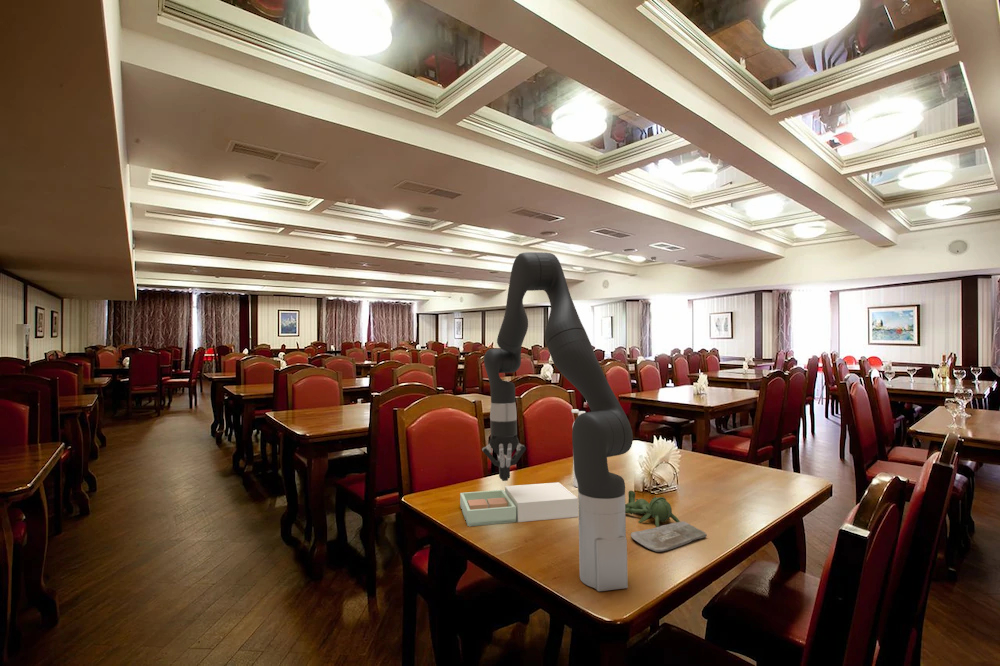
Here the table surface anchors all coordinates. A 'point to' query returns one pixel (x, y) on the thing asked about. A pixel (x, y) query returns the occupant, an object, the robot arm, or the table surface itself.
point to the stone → (668, 536)
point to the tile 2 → (497, 502)
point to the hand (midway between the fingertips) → (504, 480)
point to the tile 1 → (477, 504)
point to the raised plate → (542, 501)
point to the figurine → (650, 508)
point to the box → (487, 509)
